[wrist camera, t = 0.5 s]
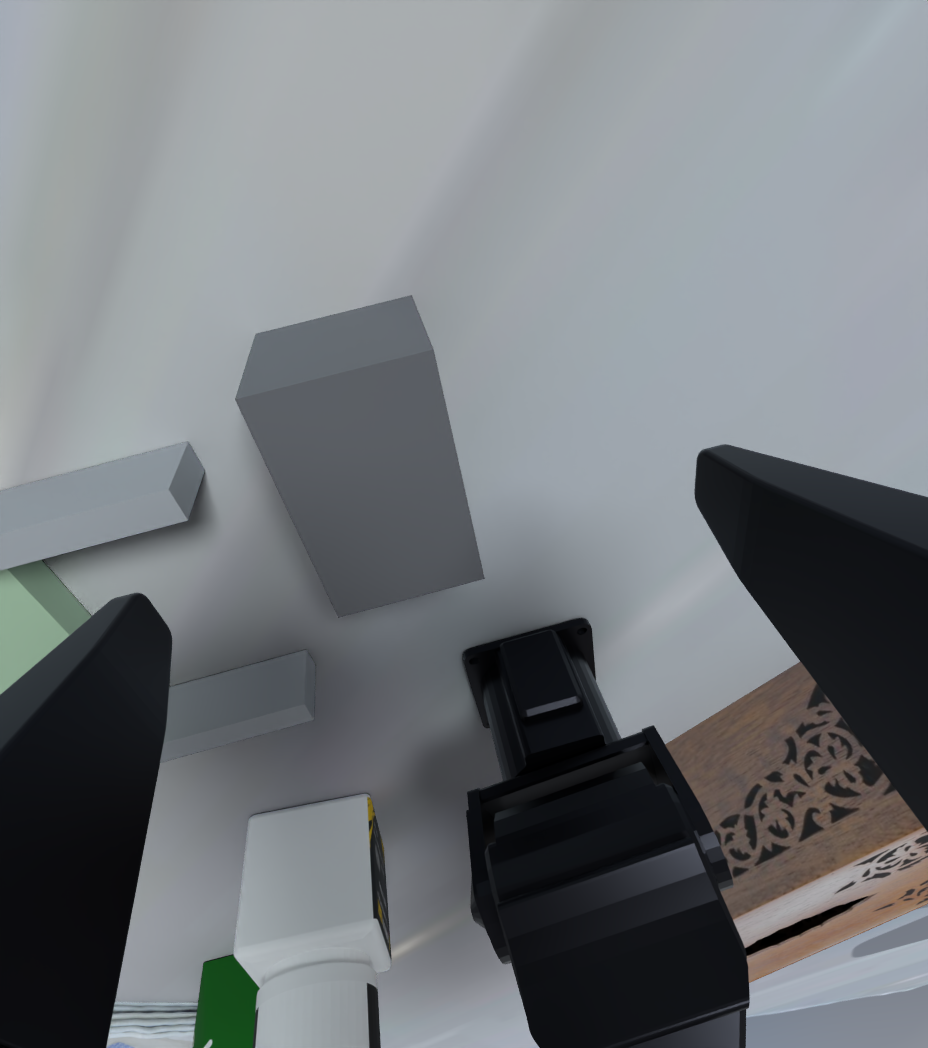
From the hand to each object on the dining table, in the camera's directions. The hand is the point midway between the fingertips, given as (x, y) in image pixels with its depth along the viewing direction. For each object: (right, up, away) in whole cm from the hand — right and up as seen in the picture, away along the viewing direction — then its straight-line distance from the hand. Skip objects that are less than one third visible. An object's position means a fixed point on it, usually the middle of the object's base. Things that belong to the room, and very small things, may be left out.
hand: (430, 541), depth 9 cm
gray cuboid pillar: (-3, +4, +11) cm, 12 cm away
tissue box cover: (+18, -18, +33) cm, 42 cm away
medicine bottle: (-9, -19, +27) cm, 34 cm away
